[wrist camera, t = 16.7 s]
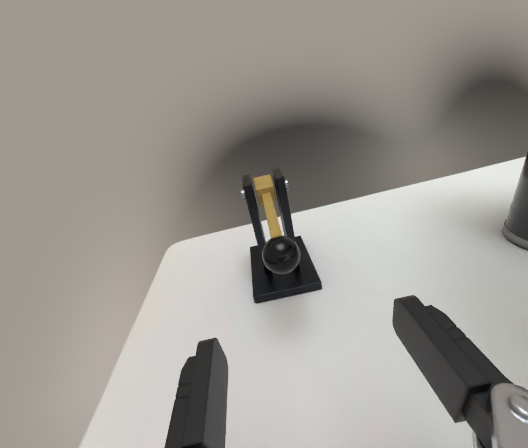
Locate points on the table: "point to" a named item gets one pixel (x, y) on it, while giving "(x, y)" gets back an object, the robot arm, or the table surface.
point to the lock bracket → (262, 278)
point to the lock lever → (275, 233)
